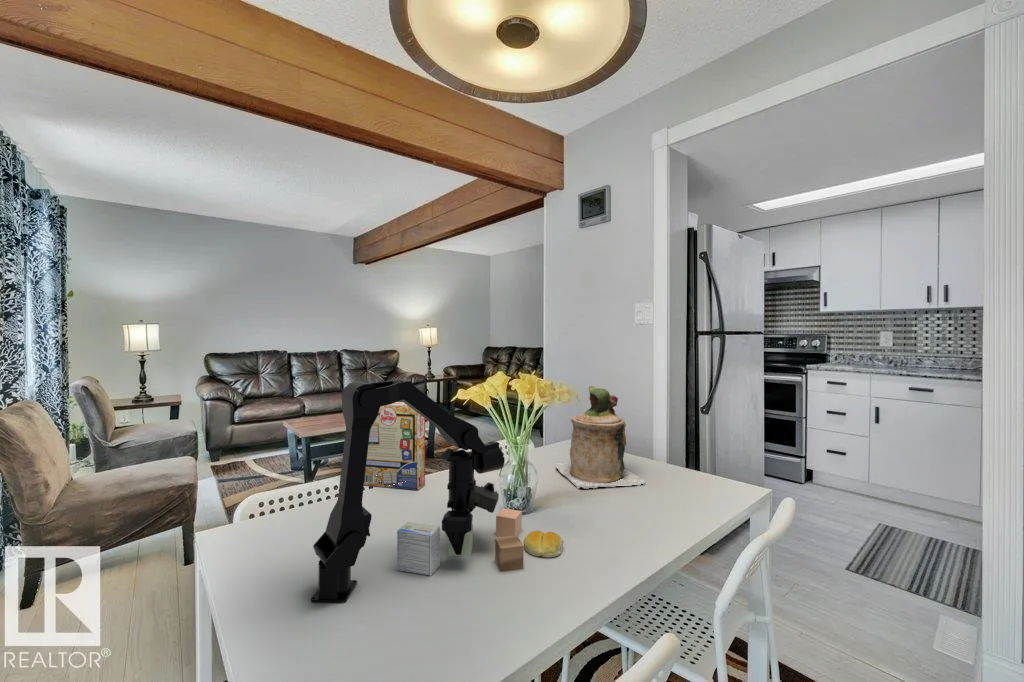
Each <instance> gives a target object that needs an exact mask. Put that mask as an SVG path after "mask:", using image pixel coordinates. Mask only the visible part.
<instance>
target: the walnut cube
mask: <svg viewBox="0 0 1024 682" xmlns="http://www.w3.org/2000/svg"><path fill="white" fill-rule="evenodd" d="M524 551H525V548H524V543H523V542H522V540H521V539H520V538H519V535H518V536H517V535H515V536H506V537H500V536H496V537H494V562H495V563H496V566H497V568H498V570H499V572H501V573H502V572H509V571H519V570H524Z"/></svg>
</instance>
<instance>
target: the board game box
mask: <svg viewBox="0 0 1024 682" xmlns="http://www.w3.org/2000/svg"><path fill="white" fill-rule="evenodd" d="M376 475H377V476H376ZM405 481H406V482H405ZM402 482H403V483H402ZM398 483H399V484H398ZM393 484H395V485H393ZM389 485H390V486H389ZM425 485H426V419H425V418H424V417H422V416H421V415H420V414H418V413H417V412H416V411H414V410H413V409H412V408H410V407H409V406H408V405H406V404H405V403H404V402H402V401H398V402H395V403H392V404H390V405H385V406H380V409H379V413H378V416H377V418H376V420H375V422H374V424H373V426H372V427H371V430H370V436H369V445H368V454H367V462H366V471H365V480H364V486H368V487H369V486H370V487H382V488H391V487H392V488H393V489H404V490H405V489H406V490H415V491H419V490H420V489H421V488H423V487H424V486H425ZM385 486H386V487H385ZM392 488H391V489H392Z"/></svg>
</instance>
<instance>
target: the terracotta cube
mask: <svg viewBox="0 0 1024 682" xmlns="http://www.w3.org/2000/svg"><path fill="white" fill-rule="evenodd" d="M522 518H523V511H522V510H516V509H509V508H502V509H501V510H500V511H499V512H498V513H497V514H496V515H495V536H496V537H506V536H515V535H517V536H518V537H519V534H520V533H521V532H522V529H523V528H522V527H523V519H522Z"/></svg>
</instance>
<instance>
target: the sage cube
mask: <svg viewBox="0 0 1024 682" xmlns="http://www.w3.org/2000/svg"><path fill="white" fill-rule="evenodd" d="M447 539H448V538H447ZM473 540H474V524H473V523H472V529H471V531H470V532H467V533H466V534H465V537H464V542H463V547H462V552H461V555H456V554H455V551H454V549H453V547H452V545H451V543H450V541H449V539H448V553H447V556H449V557H450V556H453V557H456V556H459V557H471V555H472V551H473V543H474V542H473Z"/></svg>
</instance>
